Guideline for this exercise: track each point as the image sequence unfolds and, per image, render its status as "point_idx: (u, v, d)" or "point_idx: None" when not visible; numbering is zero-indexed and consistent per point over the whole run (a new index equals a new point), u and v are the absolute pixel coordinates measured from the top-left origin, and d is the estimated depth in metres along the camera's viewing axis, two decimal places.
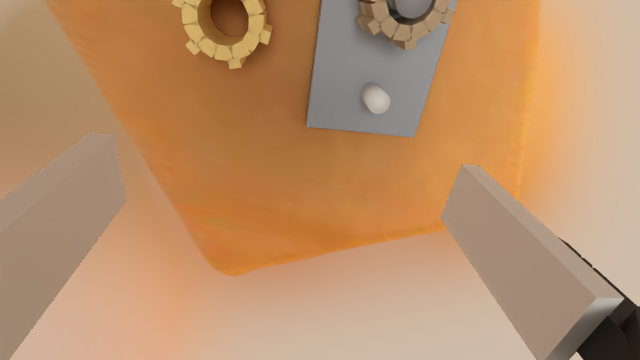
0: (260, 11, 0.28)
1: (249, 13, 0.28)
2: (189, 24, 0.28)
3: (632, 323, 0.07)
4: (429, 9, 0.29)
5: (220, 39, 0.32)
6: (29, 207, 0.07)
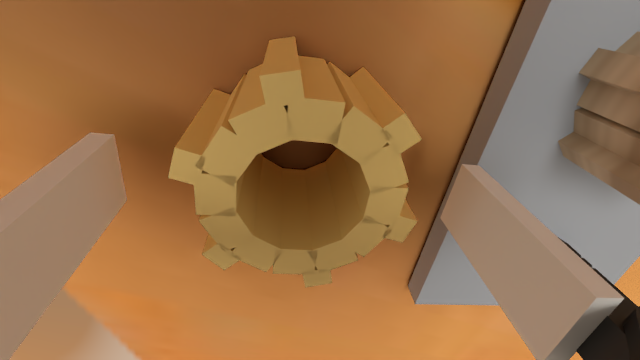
0: (402, 181, 0.11)
1: (373, 186, 0.11)
2: (214, 215, 0.11)
3: (632, 323, 0.07)
4: None
5: (278, 202, 0.14)
6: (29, 207, 0.07)
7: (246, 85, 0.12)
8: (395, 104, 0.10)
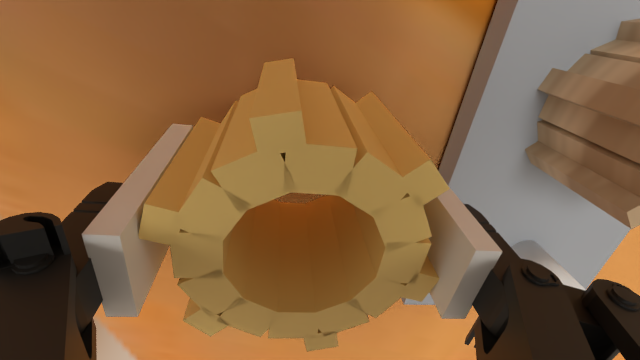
0: (424, 236, 0.09)
1: (388, 242, 0.09)
2: (196, 278, 0.09)
3: (508, 277, 0.08)
4: None
5: (275, 248, 0.12)
6: (155, 181, 0.09)
7: (236, 118, 0.10)
8: (416, 145, 0.08)
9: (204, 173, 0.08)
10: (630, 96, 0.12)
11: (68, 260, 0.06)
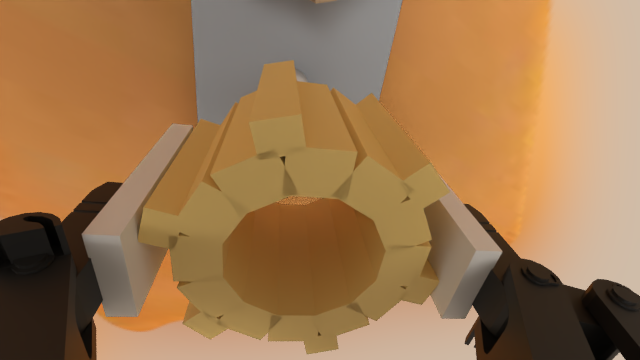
0: (424, 239, 0.09)
1: (388, 245, 0.09)
2: (196, 281, 0.09)
3: (508, 277, 0.08)
4: None
5: (275, 250, 0.12)
6: (155, 181, 0.09)
7: (236, 120, 0.10)
8: (416, 148, 0.08)
9: (204, 176, 0.07)
10: None
11: (68, 260, 0.06)
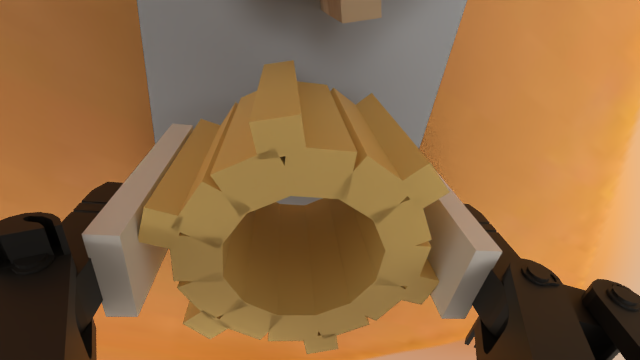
0: (423, 239, 0.09)
1: (388, 245, 0.09)
2: (196, 281, 0.09)
3: (508, 277, 0.08)
4: None
5: (275, 250, 0.12)
6: (155, 181, 0.09)
7: (236, 120, 0.10)
8: (416, 148, 0.08)
9: (204, 177, 0.08)
10: None
11: (68, 260, 0.06)
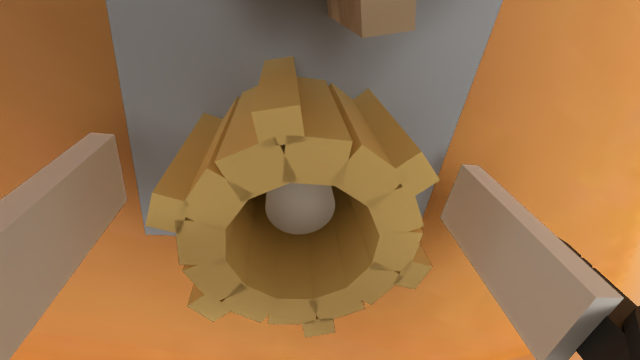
0: (416, 225, 0.09)
1: (382, 231, 0.09)
2: (200, 265, 0.09)
3: (631, 323, 0.07)
4: None
5: (275, 239, 0.13)
6: (30, 207, 0.07)
7: (238, 113, 0.10)
8: (409, 139, 0.09)
9: (208, 164, 0.08)
10: None
11: None
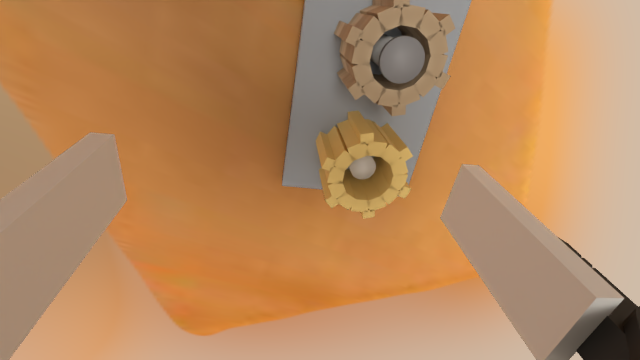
0: (405, 172, 0.28)
1: (394, 173, 0.28)
2: (333, 183, 0.28)
3: (632, 323, 0.07)
4: (420, 71, 0.25)
5: (349, 183, 0.31)
6: (29, 207, 0.07)
7: (343, 133, 0.29)
8: (403, 143, 0.28)
9: (344, 149, 0.27)
10: (346, 27, 0.24)
11: None
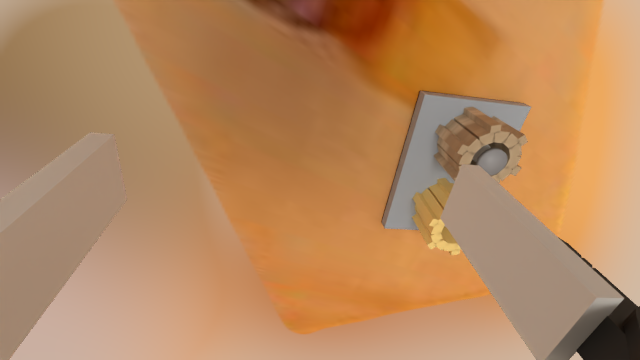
0: None
1: None
2: (435, 234, 0.41)
3: (632, 323, 0.07)
4: None
5: None
6: (29, 207, 0.07)
7: (438, 197, 0.42)
8: None
9: None
10: (453, 140, 0.36)
11: None
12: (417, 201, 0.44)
